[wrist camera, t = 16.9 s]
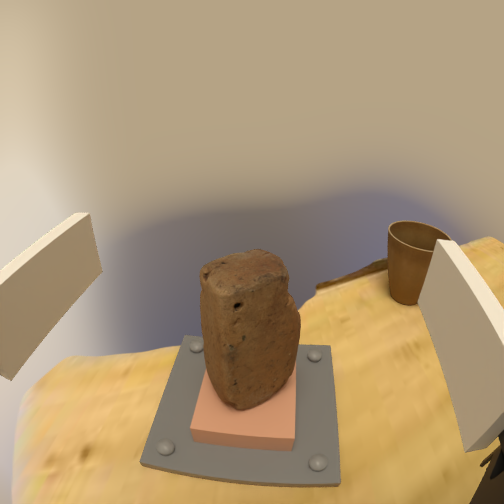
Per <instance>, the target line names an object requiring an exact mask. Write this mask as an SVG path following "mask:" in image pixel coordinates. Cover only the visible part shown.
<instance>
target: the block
mask: <svg viewBox="0 0 504 504" xmlns="http://www.w3.org/2000/svg"><path fill="white" fill-rule="evenodd" d="M288 281H289V275H288V271H287V269H286V267H285V266H284V264H283V261H282V260H281V259H280V257H278V256H276V255H274V254H272V253H270V252H267V251H264V250H261V249H254V250H250V251H246V252H245V253H233V254H231V255H228V256H225V257H222V258H219V259H216V260H214V261H211V262H209V263H208V264H206V265H204V266H203V267H202V269H201V270H200V282H201V287H202V291H201V295H200V309H201V326H202V334H203V340H204V345H203V348H204V358H205V365H206V369H207V373H208V376H209V379H210V381H211V384H212V386H213V388H214V390H215V391H216V393H217V395H218V397H219V398H220V399H221V400H222V401H223V402H224V403H226V404H229V405H231V406H232V407H234V408H236V409H239V410H244V409H249V408H252V407H254V406H257V405H259V404H261V403H263V402H265V401H266V400H268V399H269V398H271V396H272V395H273V394H274V393H276V392H278V391H279V390H280V389H281V388H282V387H283V386H284V385H285V384H286V382H287V381H288V379H289V377H290V376H291V375H292V373H293V370H294V366H295V363H296V357H297V351H298V344H299V338H300V328H301V319H300V314H299V312H298V311H297V308H296V305H295V302H294V300H293V297H292V296H291V295H290V294H289V293H288V291H287V289H288Z"/></svg>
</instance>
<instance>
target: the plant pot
mask: <svg viewBox="0 0 504 504" xmlns="http://www.w3.org/2000/svg"><path fill="white" fill-rule="evenodd" d="M437 239H441V240H449V241H452V240H451V238H450V237H449V236H448V235H447V234H446V233H444V232H443V231H441V230H440V229H438V228H435V227H433V226H431V225H427V224H424V223H420V222H415V221H397V222H394V223H392V224H391V225H390V226H389V228H388V275H389V285H390V292H391V296H392V298H393V299H394V300H396V301H397V302H399V303H401V304H404V305H414V304H416V303H418V299H419V296H420V293H421V290H422V287H423V284H424V281H425V278H426V275H427V272H428V269H429V265H430V262H431V259H432V255H433V252H434V248H435V245H436V241H437Z"/></svg>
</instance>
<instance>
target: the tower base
mask: <svg viewBox="0 0 504 504" xmlns="http://www.w3.org/2000/svg"><path fill="white" fill-rule="evenodd" d="M203 345H204V340H203V337H198V336H189V335H185V336H184V339H183V341H182V344H181V347H180V349H179V352H178V355H177V357H176V360H175V363H174V365H173V368H172V371H171V374H170V376H169V379H168V382H167V385H166V387H165V390H164V393H163V396H162V399H161V401H160V404H159V407H158V410H157V413H156V415H155V418H154V421H153V424H152V427H151V430H150V433H149V436H148V438H147V441H146V444H145V447H144V450H143V453H142V456H141V459H140V463H141V464H142V466H145V467H149V468H153V469H157V470H161V471H166V472H170V473H175V474H180V475H185V476H190V477H196V478H202V479H208V480H215V481H222V482H230V483H239V484H249V485H261V486H279V487H336V486H339V485H340V483H341V478H340V455H339V438H338V423H337V410H336V398H335V386H334V376H333V366H332V356H331V347H330V346H328V345H300V344H298V351H297V357H296V363H295V366H294V370H293V373H292V375H291V376H290V377H289V379H288V381H287V382H286V384H285V385H284V386H283V387H282V388H281V389H280V390H279V391H278V392H276V393H274V394H273V395H272V396H271V398H269V399H268V400H266V401H265V402H263V403H261V404H259V405H257V406H254V407H252V408H249V409H244V410H239V409H236V408H234V407H232V406H231V405H229V404H226V403H224V402H223V401H222V400H221V399H220V398H219V397H218V395H217V393H216V391H215V390H214V388H213V386H212V384H211V381H210V379H209V376H208V373H207V369H206V365H205V358H204V348H203Z"/></svg>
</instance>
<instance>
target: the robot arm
mask: <svg viewBox="0 0 504 504" xmlns="http://www.w3.org/2000/svg"><path fill="white" fill-rule="evenodd" d="M102 272H103V271H102V267H101V263H100V260H99V255H98V251H97V246H96V242H95V238H94V233H93V228H92V223H91V218H90V213H75V214H73V215H72V216H70V217H69V218H67V219H66V220H65V221H63V222H62V223H60V224H59V225H58V226H56V227H55V228H54V229H52V230H51V231H49V232H48V233H47V234H45V235H44V236H43V237H41V238H40V239H39V240H37V241H36V242H35V243H34V244H32V245H31V246H30V247H28V248H27V249H26V250H24V251H23V252H22V253H21V254H19V255H18V256H17V257H16V258H14V259H13V260H12V261H11V262H10V263H8V264H7V265H6V266H5V267H4V268H2V269H1V270H0V375H1V376H3V377H5V378H7V379H9V380H10V381H12V379H13V378H14V377H15V375H16V374H17V373H18V371H19V370H20V368H21V367H22V366H23V365H24V363H25V362H26V361H27V359H28V358H29V357H30V356H31V354H32V353H33V352H34V351H35V349H36V348H37V347H38V345H39V344H40V343H41V342H42V341H43V339H44V338H45V337H46V336H47V334H48V333H49V332H50V331H51V330H52V328H53V327H54V326H55V325H56V324H57V322H58V321H59V320H60V319H61V317H63V315H64V314H65V313H66V312H67V311H68V310H69V308H70V307H71V306H72V305H73V304H74V303H75V301H76V300H77V299H78V298H79V297H80V296H81V295H82V294H83V293H84V291H85V290H86V289H87V288H88V287H89V286H90V285H91V284H92V282H93V281H94V280H95V279H96V278H97V277H98V276H99V275H100V274H101V273H102ZM418 305H419V307H420V310H421V312H422V315H423V317H424V320H425V323H426V325H427V328H428V330H429V333H430V336H431V339H432V341H433V344H434V347H435V350H436V353H437V356H438V358H439V361H440V364H441V367H442V370H443V374H444V377H445V380H446V383H447V386H448V390H449V393H450V396H451V400H452V403H453V407H454V411H455V414H456V418H457V422H458V426H459V430H460V434H461V438H462V442H463V447H464V451H465V452H470V451H475V450H480V449H484V448H487V447H488V446H489V445H490V444H491V443H492V442H493V441H494V440H495V439H496V438H497V437H499V440H500V444H501V445H500V446H499V447H498V448H496V449H495V450H494V451H493V452H492V453H491V454H490V455H489V456H488V457H487V458H485V459H484V460H483V461H482V463H481V464H480V466H481V467H483V466H484V465H485V464H486V463H488V462H489V461H490V460H491V461H490V463H489V465H488V467H487V468H486V472H485V474H484V476H483V478H482V480H481V482H480V484H479V486H478V488H477V490H476V492H475V494H474V496H473V498H472V500H471V502H470V504H504V309H503V308H502V306H501V305H500V303H499V302H498V300H497V299H496V297H495V296H494V294H493V293H492V291H491V290H490V288H489V287H488V285H487V284H486V283H485V281H484V280H483V278H482V277H481V275H480V274H479V273H478V271H477V270H476V269H475V267H474V266H473V265H472V263H471V262H470V261H469V259H468V258H467V257H466V255H465V254H464V253H463V251H462V250H461V249H460V248H459V246H458V245H457V244H456V243H455V241H449V240H441V239H437V241H436V245H435V248H434V252H433V255H432V259H431V262H430V265H429V269H428V272H427V275H426V278H425V281H424V284H423V287H422V290H421V293H420V296H419V299H418Z"/></svg>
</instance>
